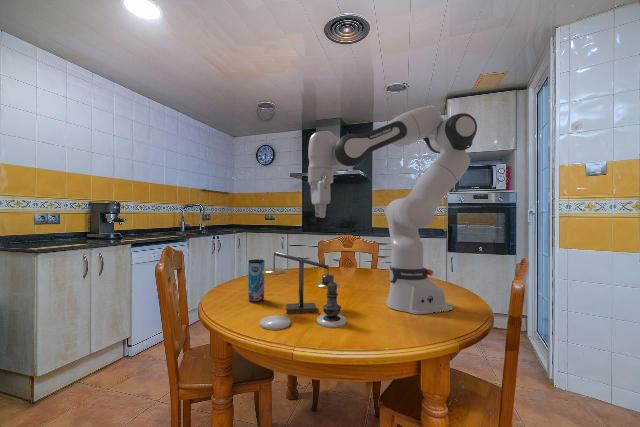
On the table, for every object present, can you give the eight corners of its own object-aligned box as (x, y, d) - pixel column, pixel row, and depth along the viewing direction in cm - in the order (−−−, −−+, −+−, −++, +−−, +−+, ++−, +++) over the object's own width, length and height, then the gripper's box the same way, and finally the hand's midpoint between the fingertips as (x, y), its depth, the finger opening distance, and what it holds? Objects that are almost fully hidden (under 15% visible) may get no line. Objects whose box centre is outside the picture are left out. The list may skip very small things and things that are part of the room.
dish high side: (289, 318, 96) (289, 315, 96) (290, 329, 88) (290, 325, 87) (260, 319, 95) (260, 316, 95) (258, 330, 86) (258, 326, 86)
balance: (336, 305, 110) (337, 249, 110) (341, 312, 102) (342, 252, 102) (262, 307, 107) (262, 250, 107) (260, 315, 99) (261, 253, 99)
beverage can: (246, 302, 112) (246, 261, 112) (250, 298, 118) (250, 259, 118) (262, 302, 112) (262, 262, 112) (265, 298, 118) (265, 259, 118)
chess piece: (339, 322, 90) (340, 282, 90) (320, 321, 91) (320, 280, 91) (342, 316, 96) (343, 277, 96) (324, 314, 97) (324, 276, 97)
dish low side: (342, 316, 99) (343, 313, 99) (349, 327, 90) (349, 323, 90) (315, 317, 97) (315, 314, 97) (318, 328, 89) (318, 324, 89)
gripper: (335, 174, 98) (335, 218, 98) (324, 180, 118) (324, 216, 118) (315, 174, 97) (315, 218, 97) (308, 180, 117) (307, 216, 117)
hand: (320, 217), depth 108 cm, fingers open, 8 cm apart
